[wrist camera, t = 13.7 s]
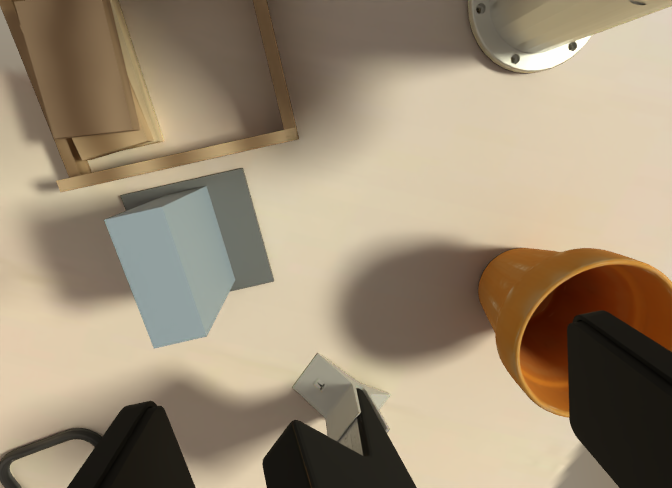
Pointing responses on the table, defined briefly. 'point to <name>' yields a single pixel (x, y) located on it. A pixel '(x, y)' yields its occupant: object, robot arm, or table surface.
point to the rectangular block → (174, 264)
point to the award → (336, 437)
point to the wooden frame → (84, 177)
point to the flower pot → (565, 310)
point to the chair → (3, 474)
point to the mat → (225, 222)
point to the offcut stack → (88, 75)
